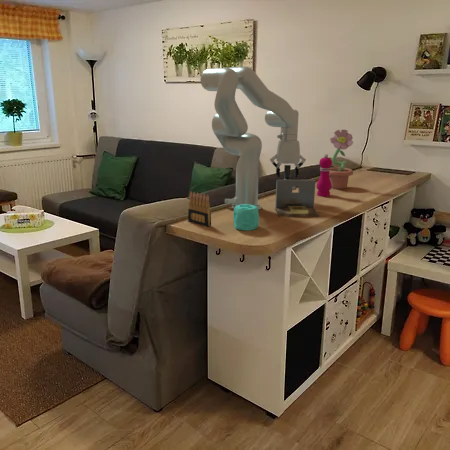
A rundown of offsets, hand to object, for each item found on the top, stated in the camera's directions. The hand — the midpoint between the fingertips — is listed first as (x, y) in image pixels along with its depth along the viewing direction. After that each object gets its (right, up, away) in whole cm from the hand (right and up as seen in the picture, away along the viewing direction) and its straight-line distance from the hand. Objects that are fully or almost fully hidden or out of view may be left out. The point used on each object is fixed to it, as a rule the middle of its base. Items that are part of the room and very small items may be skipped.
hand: (287, 176), depth 209 cm
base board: (+1, -17, -20) cm, 27 cm away
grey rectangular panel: (+1, -15, -16) cm, 22 cm away
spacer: (+1, -15, -20) cm, 25 cm away
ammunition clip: (-38, -22, -37) cm, 57 cm away
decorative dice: (-21, -24, -41) cm, 52 cm away
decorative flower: (+31, -3, +31) cm, 43 cm away
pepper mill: (+19, -8, +13) cm, 25 cm away
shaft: (0, -5, -6) cm, 8 cm away
